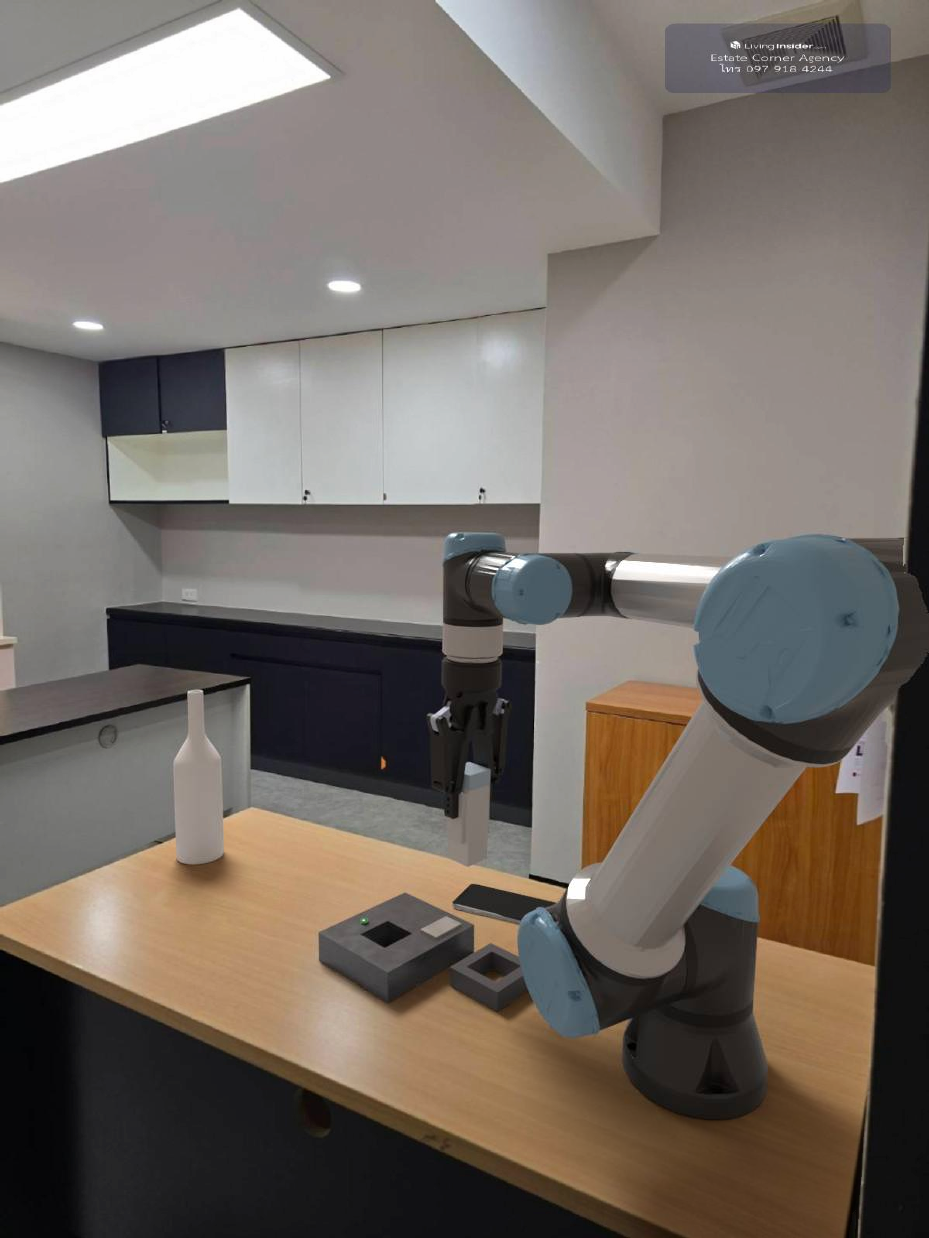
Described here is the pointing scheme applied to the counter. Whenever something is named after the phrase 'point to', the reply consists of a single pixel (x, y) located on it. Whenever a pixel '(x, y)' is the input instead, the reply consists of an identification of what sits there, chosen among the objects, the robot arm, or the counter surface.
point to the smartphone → (497, 903)
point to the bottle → (198, 792)
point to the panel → (396, 945)
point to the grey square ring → (483, 989)
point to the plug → (473, 817)
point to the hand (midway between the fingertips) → (467, 834)
